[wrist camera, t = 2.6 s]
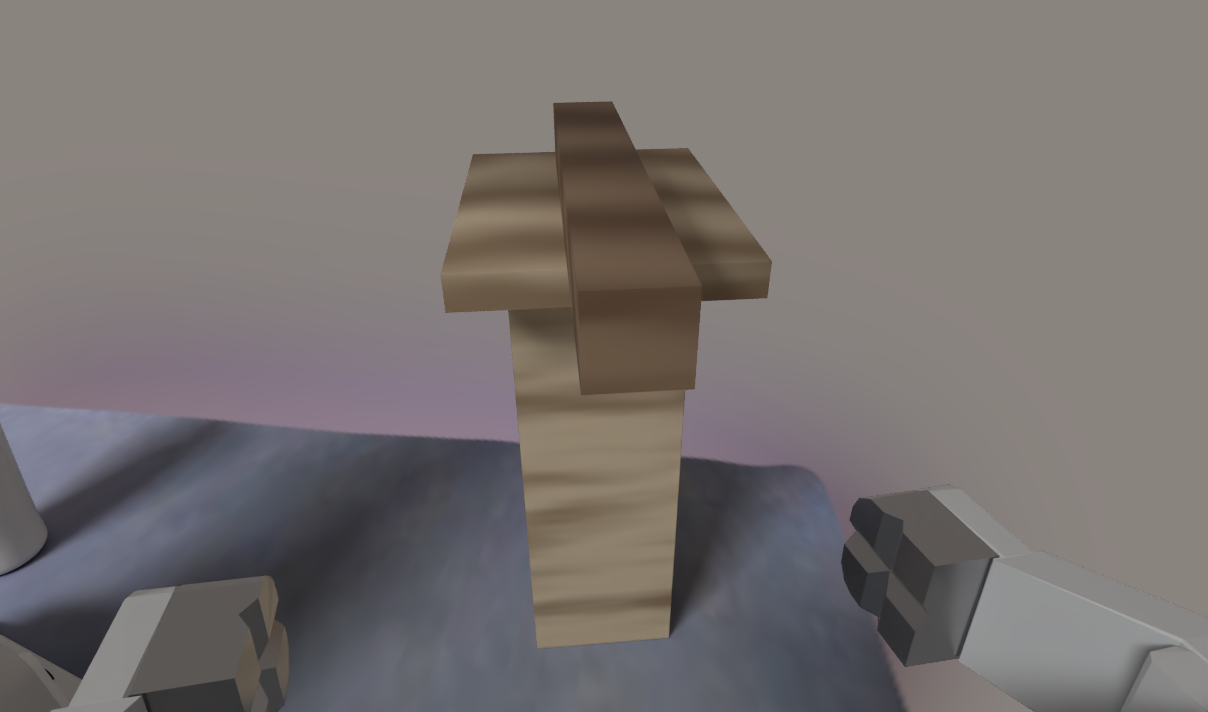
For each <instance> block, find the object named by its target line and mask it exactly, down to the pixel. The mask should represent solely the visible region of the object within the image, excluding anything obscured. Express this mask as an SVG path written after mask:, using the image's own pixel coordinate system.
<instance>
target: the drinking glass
mask: <svg viewBox="0 0 1208 712" xmlns="http://www.w3.org/2000/svg"><path fill="white" fill-rule="evenodd" d="M47 536H48V531H47V527H46V525H45V523H44V521H43V520H42V518H41V516H40V514H39V513H38V511H37V509H36V507H35V504H34V502H33V500H32V498H31V495H30V493H29V491H28V488H27V486H26V484H25V481H24V479H23V477H22V474H21V472H20V469H19V467H18V465H17V462H16V460H15V458H14V455H13V453H12V450H11V448H10V446H9V443H8V441H7V438H6V436H5V434H4V431H3V429H2V426H1V424H0V575H2V574H5V573H7V572H10V571H12V570H14V569H16V568H18V567H20V566H21V565H23V564H25V563H26V562H28V561H29V560H30V559H31V558H33V557H34V556H35V555H36V554H37V553H38V552H39V551H40V550H41V549H42V547H43V546H44V544H45V542H46V540H47Z"/></svg>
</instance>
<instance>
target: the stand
mask: <svg viewBox="0 0 1208 712" xmlns="http://www.w3.org/2000/svg"><path fill="white" fill-rule="evenodd" d="M636 152H637V154H638V156H639V158H640V160H641V162H642V164H643V166H644V168H645V170H646V172H647V174H648V176H649V178H650V180H651V182H652V184H653V186H654V188H655V190H656V192H657V194H658V197H659V199H660V201H661V203H662V205H663V207H664V209H665V211H666V213H667V215H668V217H669V219H670V221H671V223H672V225H673V227H674V229H675V231H676V233H677V235H678V237H679V239H680V241H681V244H682V246H683V248H684V250H685V252H686V254H687V256H688V258H689V260H690V262H691V264H692V266H693V268H694V270H695V272H696V274H697V276H698V278H699V280H700V282H701V284H702V296H701V301H712V300H713V301H714V300H736V299H758V298H767V295H768V287H769V280H770V272H771V264H772V261H771V259H770V258H769V257H768V255H767V254H766V253H765V251H764V250H763V249H762V247H761V246H760V245H759V243H758V242H757V241H756V239H755V238H754V237H753V235H752V234H751V233H750V231H749V230H748V228H747V227H746V226H745V224H744V223H743V222H742V220H741V219H740V218H739V216H738V215H737V214H736V212H735V211H734V210H733V208H732V207H731V205H730V204H729V203H728V202H727V200H726V199H725V198H724V196H723V195H722V193H721V192H720V191H719V189H718V188H717V187H716V185H715V184H714V183H713V181H712V180H711V179H710V177H709V176H708V174H707V173H706V172H705V170H704V169H703V168H702V166H701V165H700V164H699V162H698V161H697V160H696V158H695V157H694V156H693V154H692V153H691V152H690V150H689V149H688V148H679V149H644V150H636ZM441 282H442V289H443V297H444V304H445V310H446V313H449V312H472V311H495V310H508V313H509V322H510V323H509V324H510V334H511V335H510V336H511V347H512V359H513V370H514V382H515V392H516V405H517V417H518V427H519V440H520V451H521V463H522V474H523V486H524V498H525V509H526V521H527V532H528V544H529V555H530V567H531V578H532V590H533V602H534V613H535V625H536V636H537V648H550V647H562V646H574V645H587V644H599V643H611V642H623V641H636V640H648V639H660V638H669V626H670V611H671V596H672V581H673V566H674V551H675V535H676V520H677V505H678V490H679V475H680V460H681V445H682V429H683V415H684V400H685V390H670V391H652V392H633V393H615V394H597V395H581V391H580V382H579V372H578V363H577V354H576V345H575V335H574V326H573V317H572V307H571V298H570V289H569V280H568V270H567V261H566V252H565V242H564V233H563V224H562V215H561V205H560V196H559V187H558V177H557V168H556V154H555V152H540V153H508V154H507V153H505V154H474V155H473V157H472V160H471V164H470V168H469V171H468V176H467V179H466V182H465V187H464V190H463V194H462V197H461V201H460V205H459V208H458V212H457V216H456V220H455V224H454V227H453V231H452V234H451V238H450V242H449V246H448V249H447V253H446V257H445V260H444V264H443V268H442V272H441Z"/></svg>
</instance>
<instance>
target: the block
mask: <svg viewBox="0 0 1208 712" xmlns="http://www.w3.org/2000/svg"><path fill="white" fill-rule="evenodd" d="M553 105H554V129H555V154H556V168H557V177H558V187H559V196H560V205H561V215H562V224H563V233H564V242H565V252H566V261H567V270H568V280H569V289H570V298H571V307H572V317H573V326H574V335H575V345H576V354H577V363H578V372H579V382H580V391H581V395H597V394H615V393H633V392H652V391H670V390H687V389H694V388H695V376H696V363H697V349H698V335H699V322H700V309H701V296H702V284H701V282H700V280H699V278H698V276H697V274H696V272H695V270H694V268H693V266H692V264H691V262H690V260H689V258H688V256H687V254H686V252H685V250H684V248H683V246H682V244H681V241H680V239H679V237H678V235H677V233H676V231H675V229H674V227H673V225H672V223H671V221H670V219H669V217H668V215H667V213H666V211H665V209H664V207H663V205H662V203H661V201H660V199H659V197H658V194H657V192H656V190H655V188H654V186H653V184H652V182H651V180H650V178H649V176H648V174H647V172H646V170H645V168H644V166H643V164H642V162H641V160H640V158H639V156H638V154H637V152H636V149H635V147H634V145H633V144H632V141H631V139H630V137H629V135H628V133H627V131H626V129H625V127H624V125H623V123H622V121H621V119H620V117H619V115H618V113H617V111H616V109H615V107H614V105H613V102H576V103H554V104H553Z"/></svg>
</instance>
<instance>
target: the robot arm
mask: <svg viewBox="0 0 1208 712" xmlns="http://www.w3.org/2000/svg"><path fill="white" fill-rule="evenodd" d="M850 521H851V523H852V525H853V526H854V528H855V529H856V531H855V532H854V534H853V535H852V536H851V537H850V538H849V539H848V540H847V541H846V543H845V544H844V548H843V554H842V560H841V564H842V570H843V576H844V581H845V583H846V585H847V587H848V590H849V592H850V594H851V595H852V597H853V598H854V599H855V601H856V602H857V604H858V605H859V606H860V607H861V608H863V609H865V610H866V611H868V612H870V613H872V614H874V615H876V616H877V617H878V627H877V630H878V632H879V633H880V634H881V636H882V637H883V638H884V640H885V641H886V642H887V644H888V645H889V646H890V648H891V649H892V650H893V652H895V654H896V655H897V657H898V658H899V659H900V661H901V662H902V663H903V665H904V666H905V667H908V666H914V665H920V664H926V663H932V662H938V661H945V660H950V659H957V658H959V662H960V663H962V664H963V665H965V666H966V667H968V668H969V669H971V670H972V671H974V672H975V673H977V674H978V675H980V676H981V677H983V678H984V679H986V680H987V681H989V682H990V683H992V684H993V685H995V686H996V687H998V688H999V689H1001V690H1002V691H1004V692H1006V693H1007V694H1008V695H1010V696H1011V697H1013V698H1014V699H1016V700H1017V701H1019V702H1020V703H1022V704H1023V705H1025V706H1027V707H1028V708H1029V709H1031V710H1032V711H1034V712H1208V617H1205V616H1203V615H1200V614H1198V613H1195V612H1193V611H1190V610H1188V609H1185V608H1183V607H1180V606H1178V605H1175V604H1173V603H1170V602H1168V601H1165V600H1163V599H1161V598H1158V597H1156V596H1153V595H1151V594H1148V593H1146V592H1143V591H1140V590H1138V589H1136V588H1133V587H1131V586H1128V585H1126V584H1123V583H1121V582H1118V581H1115V580H1114V579H1111V578H1109V577H1106V576H1104V575H1101V574H1099V573H1096V572H1094V571H1091V570H1089V569H1086V568H1084V567H1081V566H1079V565H1076V564H1074V563H1072V562H1069V561H1066V560H1064V559H1062V558H1059V557H1057V556H1054V555H1052V554H1049V553H1047V552H1044V551H1039V552H1033V551H1032V550H1031V549H1030V548H1028V547H1027V546H1026V545H1025V544H1024V543H1022V542H1021V541H1020V540H1019V539H1018V538H1017V537H1015V536H1014V535H1013V534H1012V533H1011V532H1010V531H1009V530H1007V529H1006V528H1005V527H1004V526H1003V525H1002V524H1000V523H999V522H998V521H997V520H996V519H995V518H993V517H992V516H991V515H990V514H989V513H987V512H986V511H985V510H984V509H983V508H982V507H980V506H979V505H978V504H977V503H976V502H975V501H973V500H972V499H971V498H970V497H969V496H968V495H967V494H965V493H964V492H963V491H962V490H961V489H959V488H957V487H954V486H951V485H949V484H948V485H941V486H935V487H928V488H922V489H918V490H913V491H906V492H899V493H891V494H884V495H877V496H871V497H863V498H859V499H858V500H857V502H856V503H855V505H854V506H853V508H852V512H851V516H850ZM278 600H279V598H278V595H277V591H276V587H275V584H274V580H273V579H272V578H271V577H270V576H258V577H249V578H240V579H231V580H222V581H213V582H204V583H195V584H185V585H181V586H174V587H165V588H156V589H147V590H138V591H135V592H133V593H132V594H131V595H129V596H128V597H127V598H126V599H125V600H124V601H123V603H122V605H121V607H120V609H119V611H118V613H117V615H116V617H115V619H114V620H113V622H112V624H111V626H110V628H109V630H108V632H107V634H106V636H105V638H104V639H103V641H102V643H101V645H100V647H99V649H98V651H97V653H96V655H95V657H94V658H93V660H92V662H91V664H90V666H89V668H88V670H87V672H86V674H85V676H84V677H83V679H80V678H78V677H76V676H75V675H73V674H71V673H69V672H67V671H66V670H64V669H62V668H60V667H58V666H57V665H55V664H53V663H51V662H50V661H48V660H46V659H44V658H42V657H41V656H39V655H37V654H35V653H33V652H32V651H30V650H28V649H26V648H24V647H23V646H21V645H19V644H17V643H16V642H14V641H12V640H10V639H8V638H7V637H5V636H3V635H1V634H0V712H278V711H279V710H280V709H281V708H282V707H283V705H284V704H285V698H286V693H287V688H288V679H289V660H290V659H289V647H288V639H287V634H286V629H285V626H284V625H283V624H281V623H280V622H278V621H277V620H275V619H274V617H275V613H276V609H277V605H278Z"/></svg>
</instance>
